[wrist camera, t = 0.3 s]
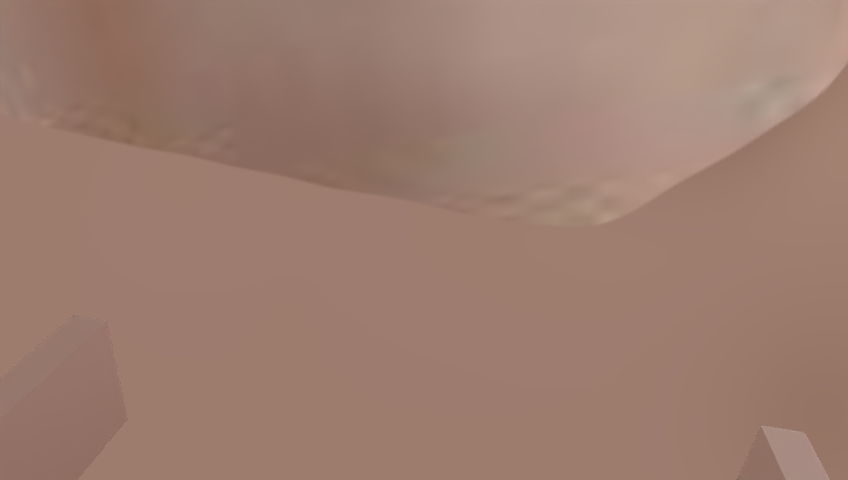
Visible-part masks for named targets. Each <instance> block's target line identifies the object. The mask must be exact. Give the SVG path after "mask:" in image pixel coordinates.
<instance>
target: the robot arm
mask: <svg viewBox="0 0 848 480" xmlns="http://www.w3.org/2000/svg"><path fill="white" fill-rule="evenodd" d="M127 419H128V417H127V412H126V407H125V402H124V397H123V393H122V389H121V383H120V379H119V374H118V369H117V365H116V360H115V356H114V351H113V346H112V342H111V338H110V333H109V328H108V323H107V321H104V320H98V319H92V318H85V317H79V316H72V317H71V318H70V319H69V320H68V321H66V322H65V323H64V324H63V325H62V326H61V327H59V328H58V329H57V330H56V331H55V332H53V333H52V334H51V335H50V336H49V337H48V338H46V339H45V340H44V341H43V342H41V343H40V344H39V345H38V346H37V347H36V348H34V349H33V350H32V351H31V352H30V353H28V354H27V355H26V356H25V357H24V358H22V359H21V360H20V361H19V362H18V363H16V365H14V366H13V367H12V368H11V369H9V370H8V371H7V372H6V373H5V374H3V375H2V376H1V377H0V480H78V479H79V477H80V476H81V475H82V474H83V473H84V471H85V470H86V469H87V468H88V466H89V465H90V464H91V463H92V462H93V461H94V459H95V458H96V457H97V456H98V454H99V453H100V452H101V451H102V450H103V448H104V447H105V446H106V445H107V444H108V442H109V441H110V440H111V439H112V437H113V436H114V435H115V434H116V433H117V432H118V430H119V429H120V428H121V427H122V425H123V424H124V423H125V422H126V421H127ZM737 480H829V477H828V476H827V474H826V472H825V470H824V468H823V466H822V464H821V463H820V461H819V459H818V457H817V455H816V453H815V452H814V449H813V448H812V446H811V444H810V442H809V440H808V439H807V437H806V435H805V433H804V432H799V431H793V430H786V429H780V428H774V427H768V426H762V425H761V427H760V429H759V431H758V434H757V435H756V438H755V440H754V442H753V444H752V447H751V449H750V451H749V453H748V456H747V458H746V460H745V463H744V465H743V467H742V469H741V472H740V474H739V476H738V478H737Z"/></svg>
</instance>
